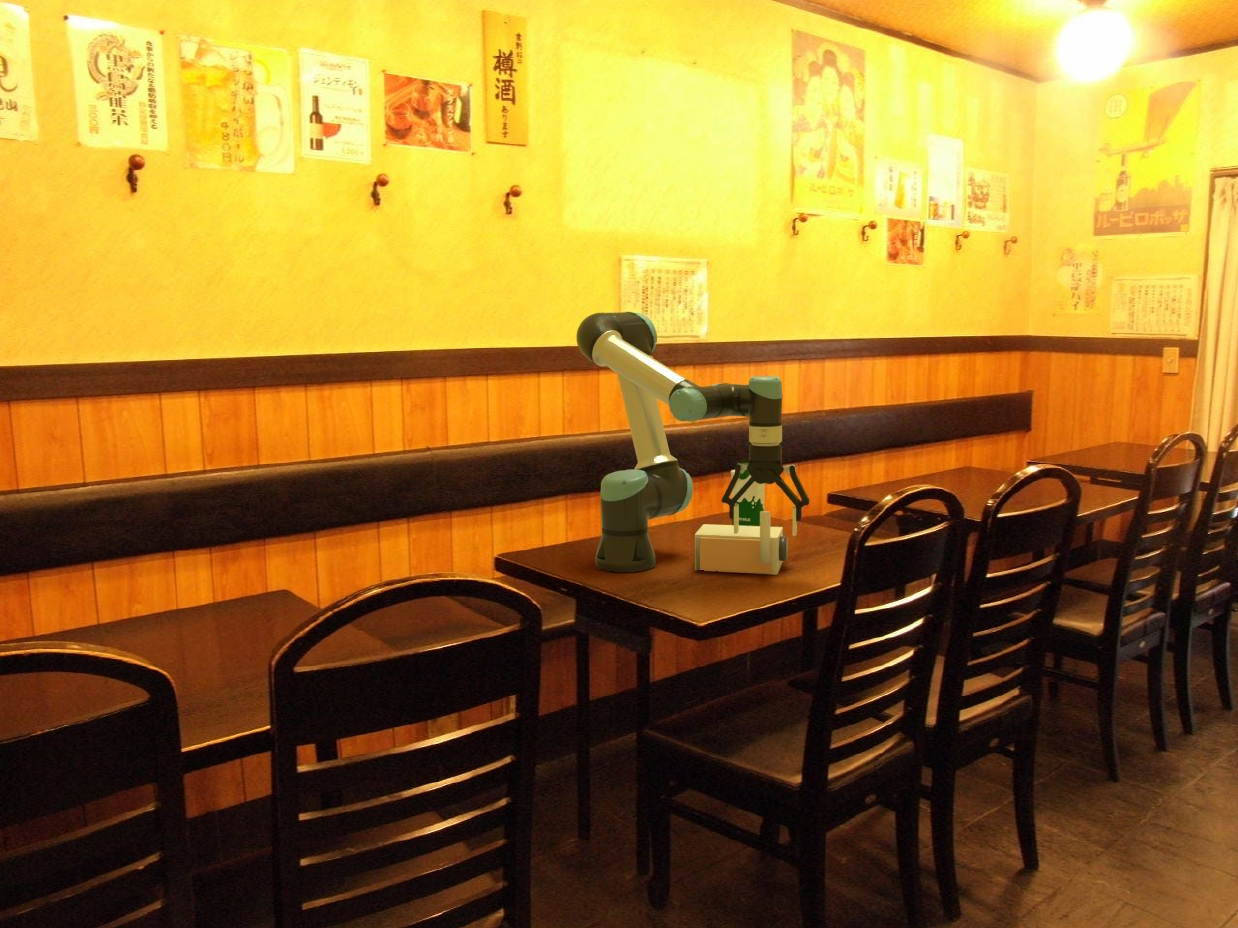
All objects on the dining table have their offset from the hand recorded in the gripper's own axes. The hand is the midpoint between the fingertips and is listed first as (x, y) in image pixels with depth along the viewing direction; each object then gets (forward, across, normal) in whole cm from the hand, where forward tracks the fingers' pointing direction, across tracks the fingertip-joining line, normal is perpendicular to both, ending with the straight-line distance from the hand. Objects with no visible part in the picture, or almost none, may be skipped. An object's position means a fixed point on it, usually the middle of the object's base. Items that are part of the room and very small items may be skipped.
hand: (765, 533), depth 229 cm
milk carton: (+11, -10, +50) cm, 52 cm away
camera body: (+11, -8, +10) cm, 17 cm away
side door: (+10, -8, +1) cm, 13 cm away
